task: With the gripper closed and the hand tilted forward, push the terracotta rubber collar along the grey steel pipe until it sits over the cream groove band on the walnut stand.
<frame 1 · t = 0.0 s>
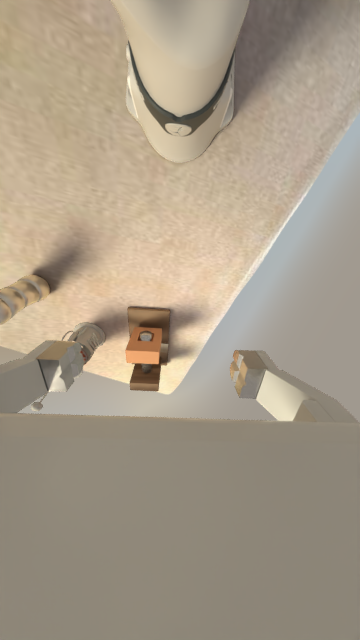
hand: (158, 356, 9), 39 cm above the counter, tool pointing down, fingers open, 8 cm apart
collar: (145, 344, 48), point 8 cm above the counter, slide at 0.0 cm
pipe stand: (149, 337, 56), on the counter
steel pipe: (149, 340, 57), resting on pipe stand
french press: (89, 332, 55), on the counter
plastic bottle: (41, 285, 47), on the counter
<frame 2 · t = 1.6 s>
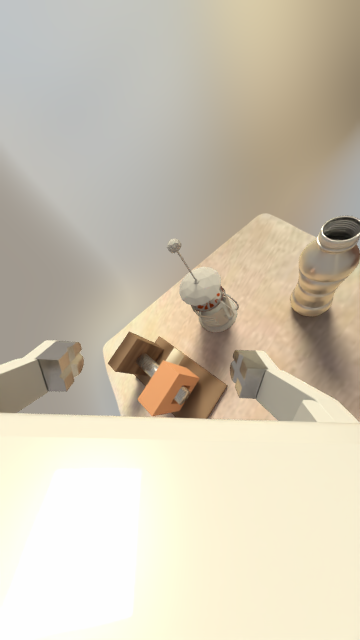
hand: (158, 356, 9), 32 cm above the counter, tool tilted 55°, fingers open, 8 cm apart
collar: (171, 387, 34), point 8 cm above the counter, slide at 0.0 cm
pipe stand: (176, 379, 42), on the counter
steel pipe: (173, 376, 43), resting on pipe stand
french press: (220, 315, 44), on the counter
plastic bottle: (307, 305, 36), on the counter
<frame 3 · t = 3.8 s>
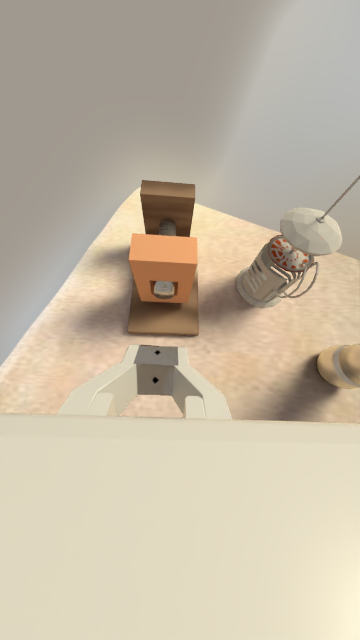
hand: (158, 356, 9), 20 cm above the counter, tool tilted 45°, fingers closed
collar: (164, 274, 26), point 8 cm above the counter, slide at 0.0 cm
pipe stand: (166, 282, 35), on the counter
steel pipe: (166, 278, 35), resting on pipe stand
french press: (260, 290, 36), on the counter
plastic bottle: (328, 368, 31), on the counter
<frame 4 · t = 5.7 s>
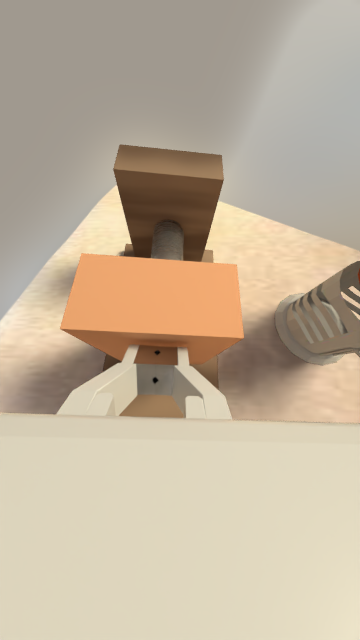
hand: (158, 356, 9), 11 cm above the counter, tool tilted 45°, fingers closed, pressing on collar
collar: (161, 327, 13), point 8 cm above the counter, slide at 0.2 cm, touching gripper
pipe stand: (165, 321, 22), on the counter
steel pipe: (165, 313, 22), resting on pipe stand
french press: (312, 333, 23), on the counter
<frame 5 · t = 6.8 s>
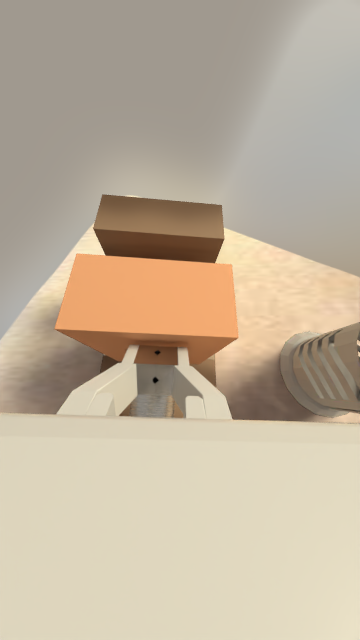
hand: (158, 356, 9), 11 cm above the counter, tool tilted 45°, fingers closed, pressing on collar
collar: (158, 327, 13), point 8 cm above the counter, slide at 5.8 cm, touching gripper
pipe stand: (159, 368, 20), on the counter
steel pipe: (160, 359, 20), resting on pipe stand
french press: (320, 379, 21), on the counter
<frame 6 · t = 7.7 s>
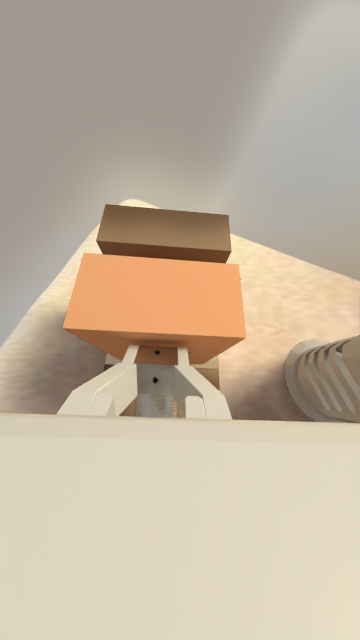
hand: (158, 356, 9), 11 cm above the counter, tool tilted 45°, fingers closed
collar: (162, 327, 13), point 8 cm above the counter, slide at 6.8 cm
pipe stand: (162, 377, 19), on the counter
steel pipe: (162, 368, 20), resting on pipe stand
french press: (326, 388, 20), on the counter
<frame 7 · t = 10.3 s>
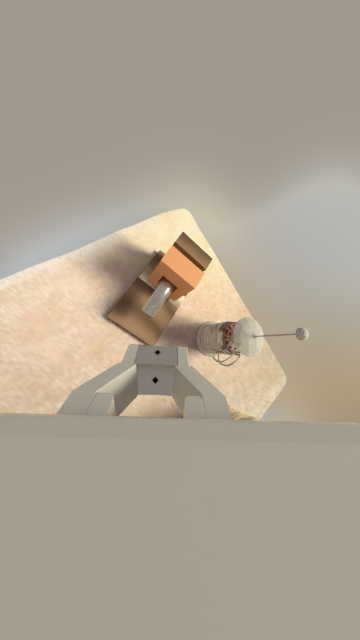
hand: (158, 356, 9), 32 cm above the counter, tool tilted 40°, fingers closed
collar: (173, 276, 37), point 8 cm above the counter, slide at 6.8 cm
pipe stand: (155, 297, 43), on the counter
steel pipe: (157, 294, 44), resting on pipe stand
french press: (209, 341, 48), on the counter
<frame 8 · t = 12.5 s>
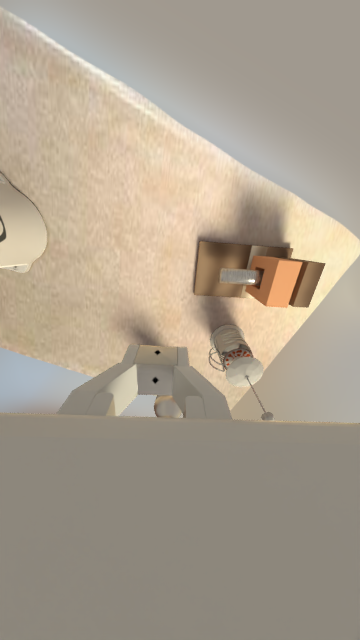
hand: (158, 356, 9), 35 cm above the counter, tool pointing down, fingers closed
collar: (268, 279, 35), point 8 cm above the counter, slide at 6.8 cm
pipe stand: (239, 271, 42), on the counter
steel pipe: (243, 272, 42), resting on pipe stand
french press: (223, 339, 50), on the counter
plastic bottle: (169, 365, 54), on the counter
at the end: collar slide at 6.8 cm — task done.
